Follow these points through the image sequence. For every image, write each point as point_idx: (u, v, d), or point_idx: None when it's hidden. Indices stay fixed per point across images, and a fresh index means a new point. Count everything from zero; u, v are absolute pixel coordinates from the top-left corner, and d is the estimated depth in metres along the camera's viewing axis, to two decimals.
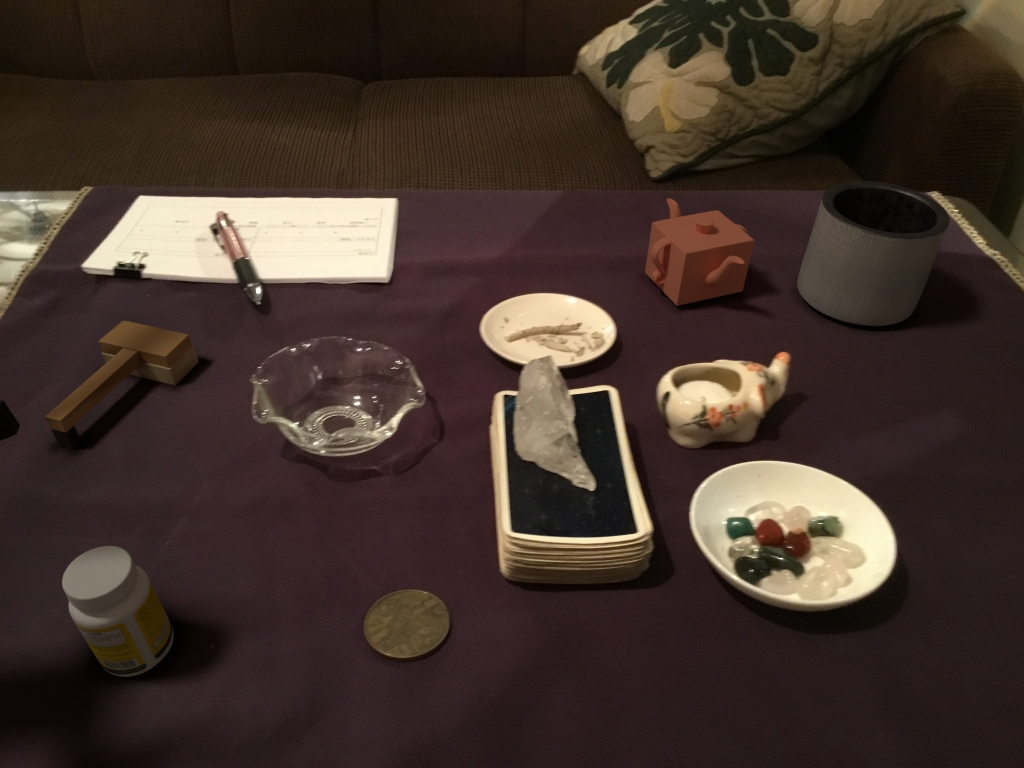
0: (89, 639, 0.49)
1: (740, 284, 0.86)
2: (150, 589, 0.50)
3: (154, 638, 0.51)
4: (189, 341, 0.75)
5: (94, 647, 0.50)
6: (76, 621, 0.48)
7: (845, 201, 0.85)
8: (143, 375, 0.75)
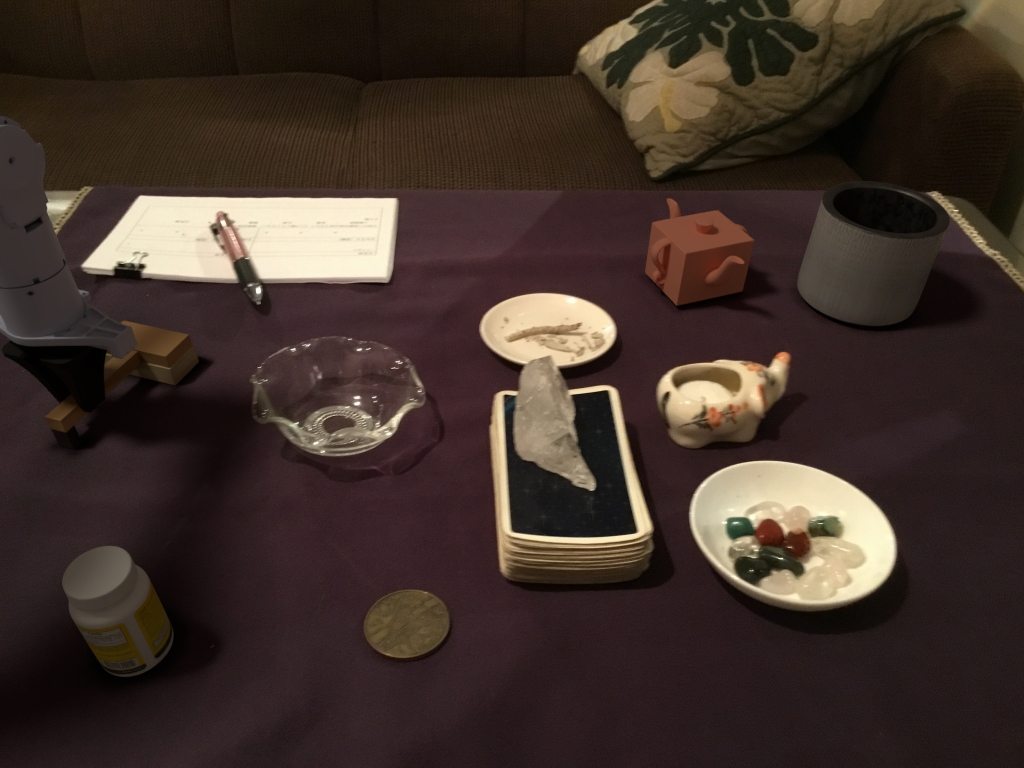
0: (89, 639, 0.49)
1: (740, 284, 0.86)
2: (150, 589, 0.50)
3: (154, 638, 0.51)
4: (189, 341, 0.75)
5: (94, 647, 0.50)
6: (76, 621, 0.48)
7: (845, 201, 0.85)
8: (143, 375, 0.75)
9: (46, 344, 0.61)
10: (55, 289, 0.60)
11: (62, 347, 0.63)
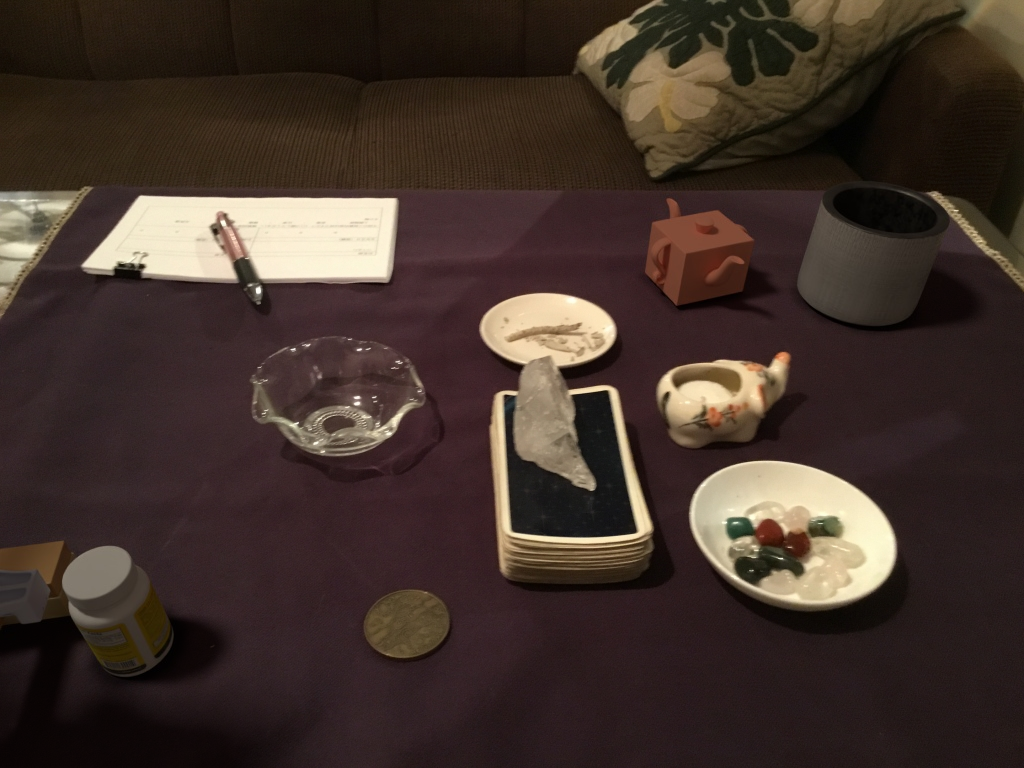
0: (89, 639, 0.49)
1: (740, 284, 0.86)
2: (150, 589, 0.50)
3: (154, 638, 0.51)
4: (67, 549, 0.53)
5: (94, 647, 0.50)
6: (76, 621, 0.48)
7: (845, 201, 0.85)
8: (12, 620, 0.52)
9: None
10: None
11: None
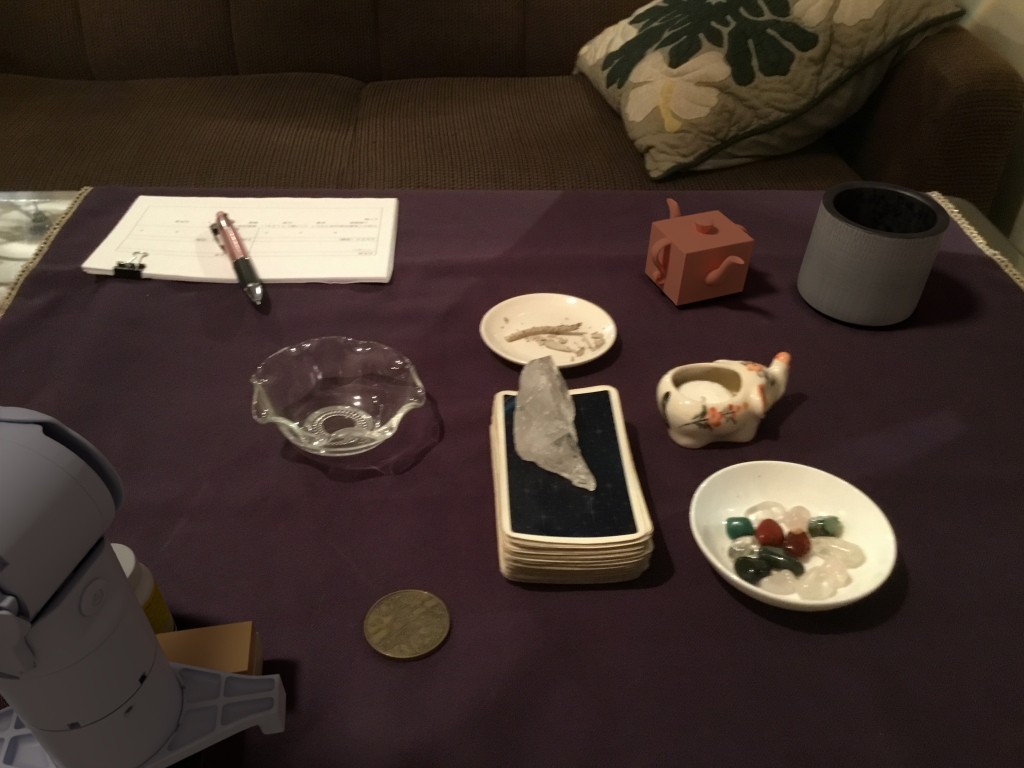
0: None
1: (740, 284, 0.86)
2: (154, 585, 0.50)
3: None
4: (254, 629, 0.50)
5: None
6: None
7: (845, 201, 0.85)
8: None
9: None
10: (159, 678, 0.34)
11: None
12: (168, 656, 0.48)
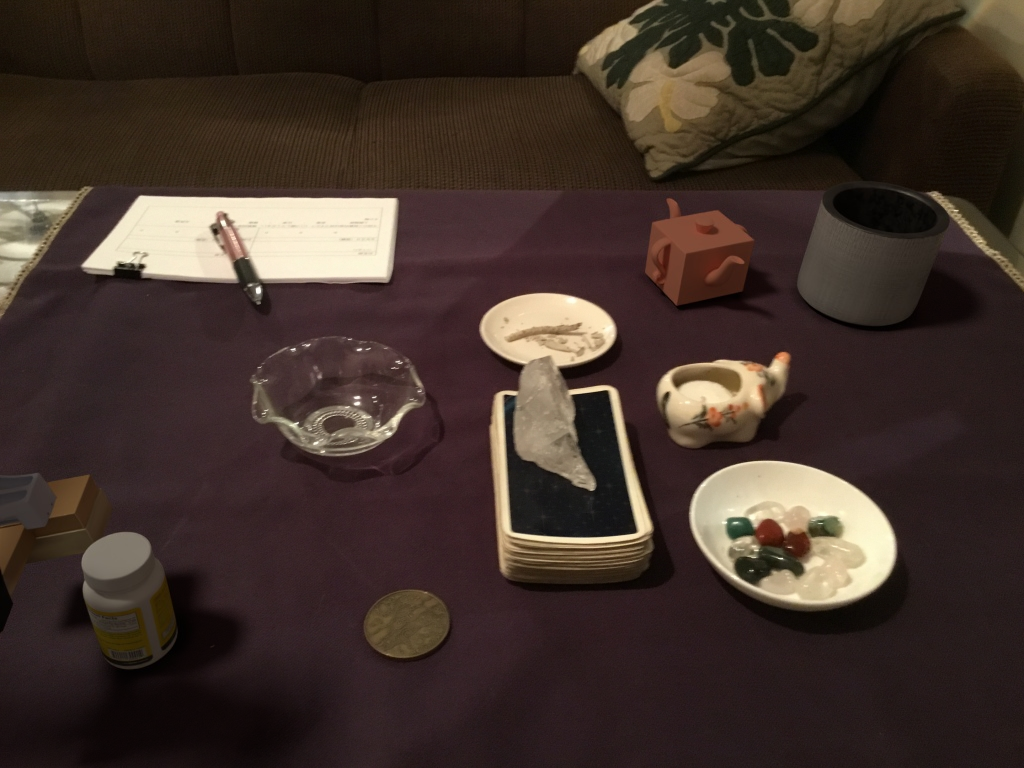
0: (101, 625, 0.49)
1: (740, 284, 0.86)
2: (164, 577, 0.51)
3: (163, 628, 0.51)
4: (94, 483, 0.52)
5: (104, 634, 0.50)
6: (92, 605, 0.48)
7: (845, 201, 0.85)
8: (42, 557, 0.50)
9: None
10: None
11: None
12: None
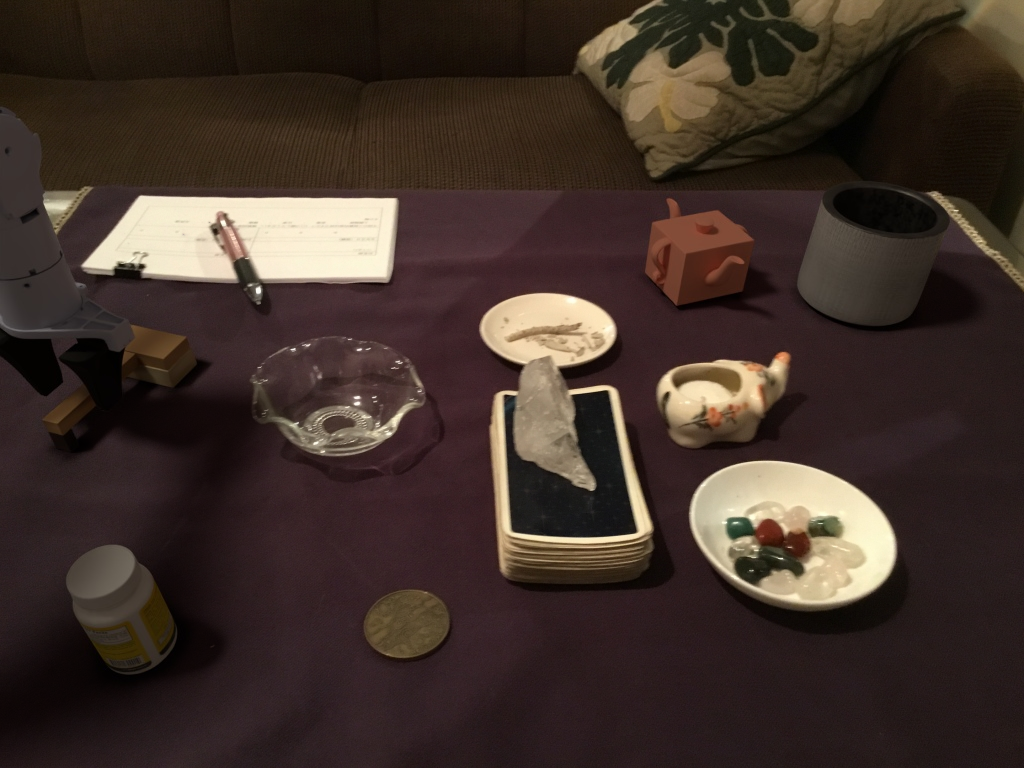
0: (94, 638, 0.49)
1: (740, 284, 0.86)
2: (154, 587, 0.50)
3: (159, 635, 0.51)
4: (187, 343, 0.75)
5: (99, 646, 0.50)
6: (81, 620, 0.48)
7: (845, 201, 0.85)
8: (141, 377, 0.75)
9: (43, 337, 0.60)
10: (52, 281, 0.59)
11: (80, 345, 0.62)
12: None
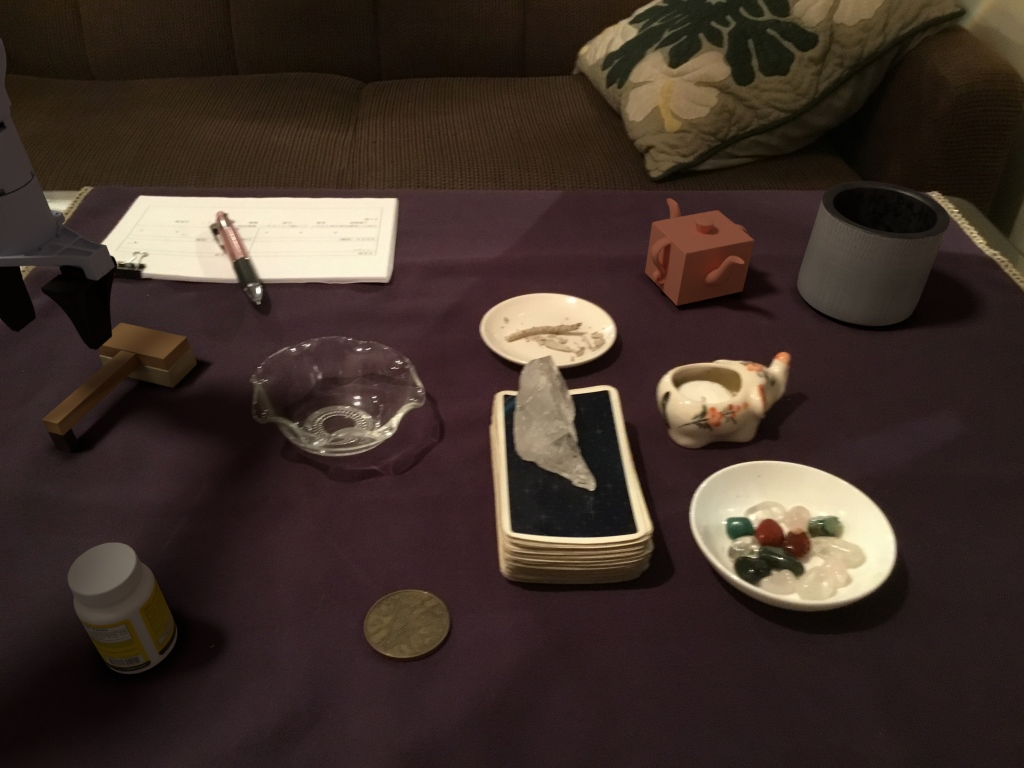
0: (94, 636, 0.49)
1: (740, 284, 0.86)
2: (155, 585, 0.50)
3: (159, 635, 0.51)
4: (187, 343, 0.75)
5: (99, 644, 0.50)
6: (81, 617, 0.48)
7: (845, 201, 0.85)
8: (141, 377, 0.75)
9: (16, 264, 0.57)
10: (23, 203, 0.55)
11: (64, 276, 0.58)
12: (131, 337, 0.74)
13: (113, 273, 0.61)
